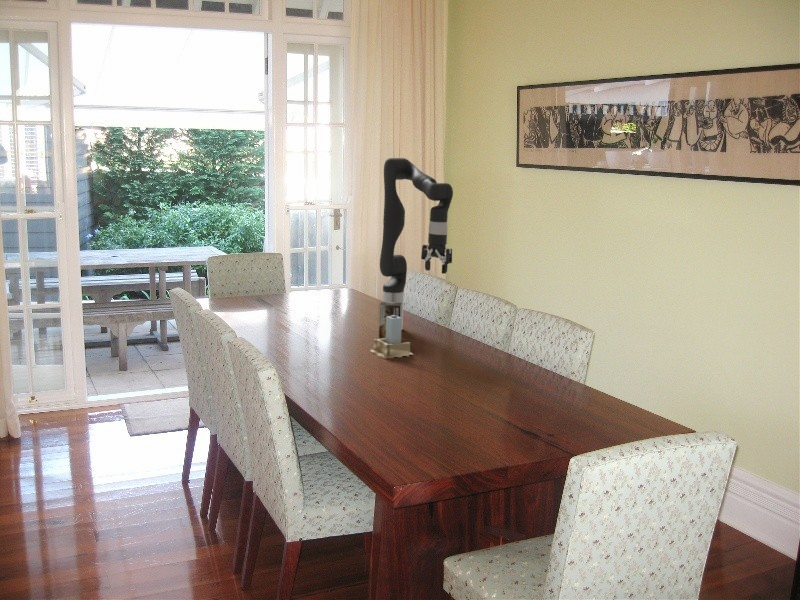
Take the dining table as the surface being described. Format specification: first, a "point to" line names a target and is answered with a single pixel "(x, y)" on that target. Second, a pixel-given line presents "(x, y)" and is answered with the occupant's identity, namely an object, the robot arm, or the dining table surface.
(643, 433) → the dining table surface
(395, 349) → the keeper pocket
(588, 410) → the dining table surface
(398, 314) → the coffee box
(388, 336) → the post
